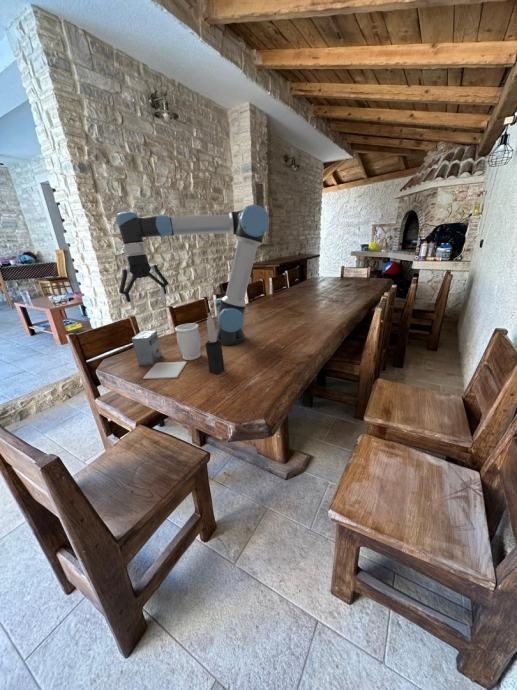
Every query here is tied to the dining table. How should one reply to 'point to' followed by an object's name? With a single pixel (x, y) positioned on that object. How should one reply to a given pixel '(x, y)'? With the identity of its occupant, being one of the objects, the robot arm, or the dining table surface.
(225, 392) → the dining table surface
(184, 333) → the jar
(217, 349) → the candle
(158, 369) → the mat
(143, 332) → the block
